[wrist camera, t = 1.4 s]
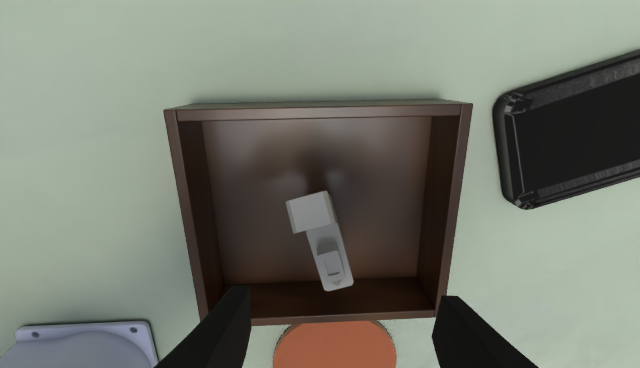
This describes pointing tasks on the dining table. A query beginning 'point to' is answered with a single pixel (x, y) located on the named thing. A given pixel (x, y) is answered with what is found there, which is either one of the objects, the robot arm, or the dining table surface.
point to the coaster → (335, 346)
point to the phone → (570, 133)
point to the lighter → (322, 237)
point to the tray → (313, 177)
